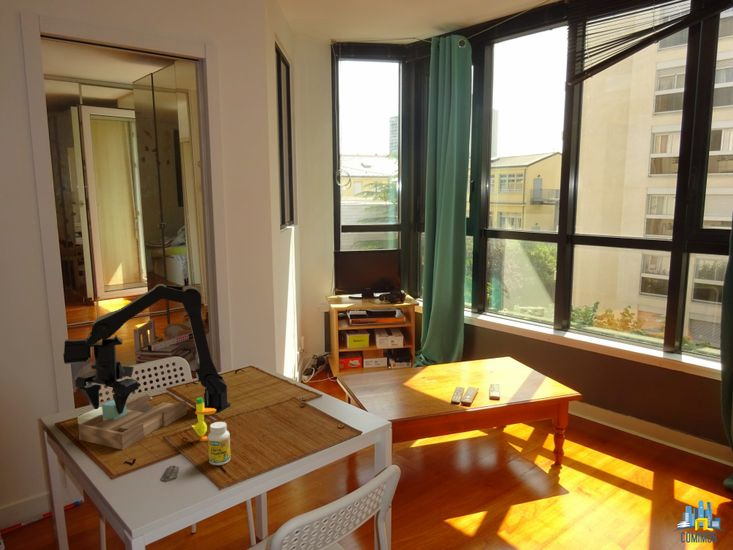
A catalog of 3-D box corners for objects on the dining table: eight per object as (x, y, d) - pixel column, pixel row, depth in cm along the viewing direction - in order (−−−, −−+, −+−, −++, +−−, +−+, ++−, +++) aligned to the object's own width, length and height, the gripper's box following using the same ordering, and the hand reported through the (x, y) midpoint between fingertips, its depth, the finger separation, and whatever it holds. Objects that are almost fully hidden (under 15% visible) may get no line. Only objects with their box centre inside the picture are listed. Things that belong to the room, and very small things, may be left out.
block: (126, 413, 154) (126, 401, 153) (114, 419, 150) (113, 406, 149) (115, 411, 156) (114, 399, 155) (102, 417, 151) (101, 404, 151)
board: (125, 418, 157) (125, 411, 156) (103, 429, 149) (103, 422, 149) (100, 413, 160) (100, 406, 160) (78, 423, 153) (77, 416, 153)
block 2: (179, 472, 129) (180, 465, 129) (175, 483, 123) (176, 476, 123) (164, 472, 128) (164, 465, 128) (159, 483, 122) (160, 476, 122)
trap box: (186, 414, 160) (186, 400, 160) (122, 449, 137) (121, 434, 137) (147, 406, 166) (146, 393, 165) (79, 439, 143) (78, 424, 142)
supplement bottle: (230, 454, 135) (229, 419, 134) (230, 464, 130) (229, 428, 129) (209, 456, 134) (208, 421, 133) (207, 467, 129) (206, 430, 127)
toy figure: (217, 436, 146) (216, 395, 144) (216, 442, 142) (214, 400, 140) (192, 437, 145) (191, 396, 143) (190, 443, 141) (188, 401, 139)
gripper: (151, 356, 155) (153, 406, 157) (104, 349, 162) (106, 397, 164) (121, 367, 145) (124, 420, 147) (72, 359, 151) (76, 410, 153)
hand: (108, 411), depth 153 cm, fingers open, 9 cm apart
